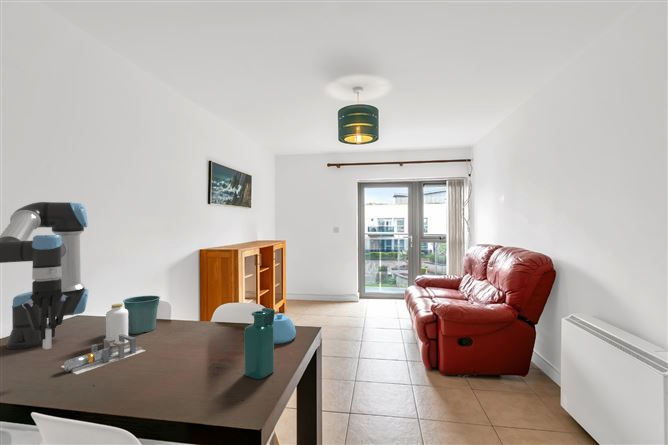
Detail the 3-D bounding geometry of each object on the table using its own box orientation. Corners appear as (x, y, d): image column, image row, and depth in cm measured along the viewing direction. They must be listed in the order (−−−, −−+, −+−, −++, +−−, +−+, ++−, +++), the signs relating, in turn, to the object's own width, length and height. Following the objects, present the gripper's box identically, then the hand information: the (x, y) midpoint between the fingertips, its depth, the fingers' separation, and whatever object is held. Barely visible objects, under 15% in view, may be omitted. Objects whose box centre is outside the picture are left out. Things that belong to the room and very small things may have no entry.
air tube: (67, 374, 113) (69, 365, 112) (62, 366, 115) (65, 358, 114) (110, 359, 125) (113, 351, 124) (106, 353, 127) (108, 345, 126)
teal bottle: (259, 381, 108) (258, 316, 108) (242, 375, 112) (241, 312, 112) (278, 369, 116) (278, 309, 116) (262, 364, 120) (261, 306, 121)
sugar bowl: (256, 342, 144) (256, 316, 144) (274, 331, 158) (274, 308, 158) (285, 346, 138) (285, 320, 138) (301, 335, 152) (301, 311, 152)
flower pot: (151, 323, 173) (151, 293, 174) (166, 328, 164) (166, 297, 164) (117, 331, 160) (117, 299, 160) (131, 338, 150) (131, 304, 151)
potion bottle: (117, 349, 137) (116, 307, 137) (100, 347, 138) (100, 306, 139) (132, 342, 145) (132, 302, 145) (117, 341, 147) (117, 302, 147)
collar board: (60, 369, 118) (60, 350, 118) (128, 347, 139) (128, 331, 139) (76, 377, 112) (76, 357, 112) (145, 353, 132) (145, 336, 132)
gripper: (26, 283, 102) (25, 356, 102) (74, 277, 114) (74, 343, 113) (17, 281, 106) (17, 352, 106) (65, 276, 117) (65, 340, 117)
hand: (47, 347), depth 109 cm, fingers closed
